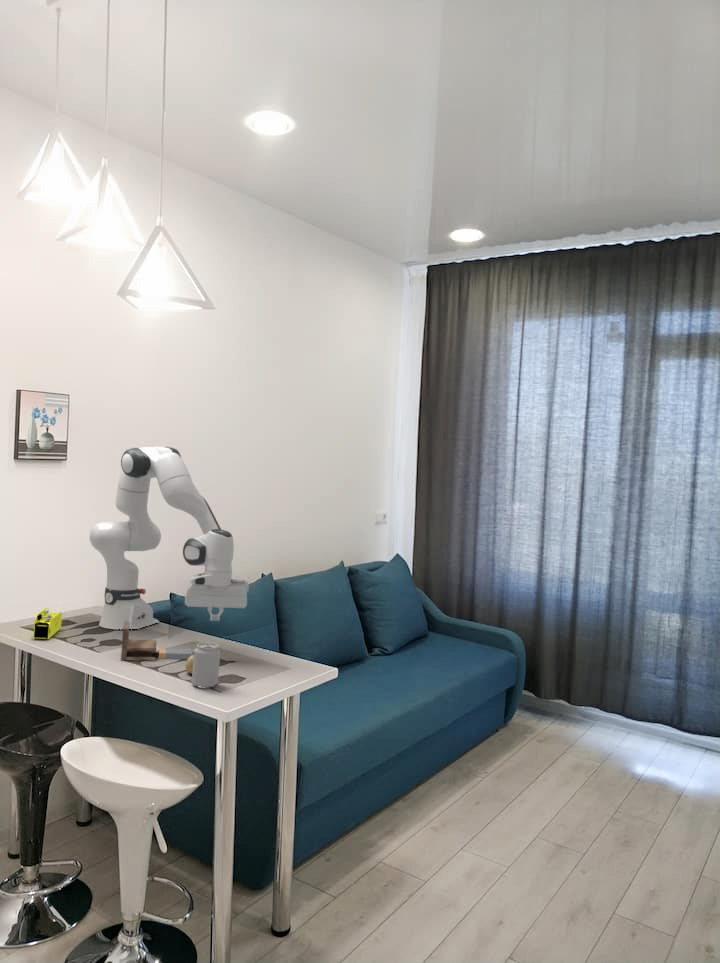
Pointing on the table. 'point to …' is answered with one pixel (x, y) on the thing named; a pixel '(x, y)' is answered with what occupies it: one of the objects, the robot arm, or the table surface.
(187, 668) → the onion
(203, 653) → the can
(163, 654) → the two-tone tall prism
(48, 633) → the yellow toy chassis
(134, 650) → the tan bookend
